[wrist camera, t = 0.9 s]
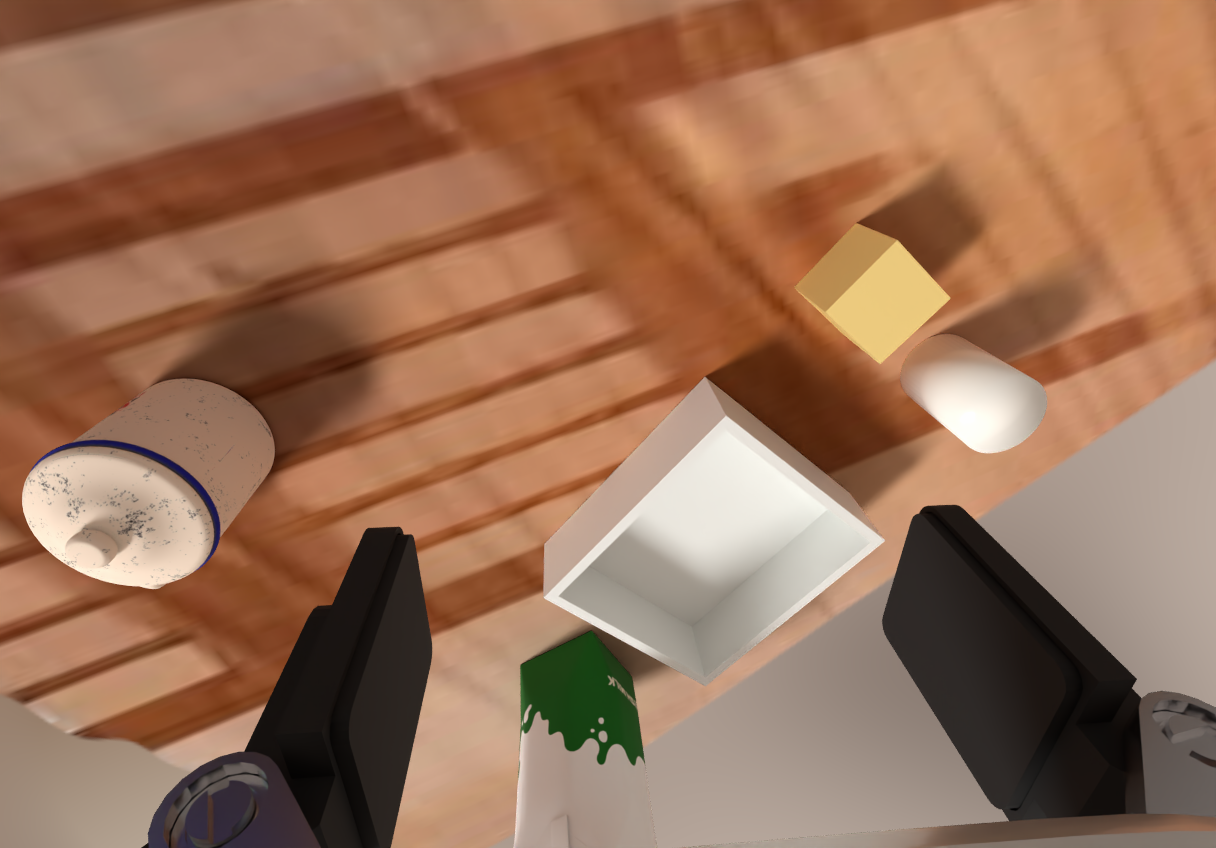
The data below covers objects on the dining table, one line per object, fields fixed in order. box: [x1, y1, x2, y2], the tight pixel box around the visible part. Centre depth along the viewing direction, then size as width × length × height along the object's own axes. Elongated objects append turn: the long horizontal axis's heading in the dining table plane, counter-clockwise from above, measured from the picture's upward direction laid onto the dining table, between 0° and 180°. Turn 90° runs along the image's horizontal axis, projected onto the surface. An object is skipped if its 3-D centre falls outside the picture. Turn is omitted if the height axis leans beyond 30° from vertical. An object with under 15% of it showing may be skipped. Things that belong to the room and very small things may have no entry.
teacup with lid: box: [22, 379, 275, 589], centre depth 35 cm, size 12×9×12 cm
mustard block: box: [794, 223, 951, 364], centre depth 36 cm, size 5×5×5 cm
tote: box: [543, 377, 885, 686], centre depth 43 cm, size 17×15×6 cm
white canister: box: [900, 334, 1047, 453], centre depth 38 cm, size 5×5×7 cm
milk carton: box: [513, 631, 657, 848], centre depth 44 cm, size 9×9×20 cm
